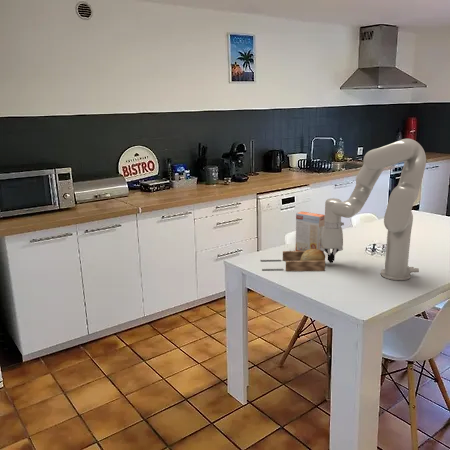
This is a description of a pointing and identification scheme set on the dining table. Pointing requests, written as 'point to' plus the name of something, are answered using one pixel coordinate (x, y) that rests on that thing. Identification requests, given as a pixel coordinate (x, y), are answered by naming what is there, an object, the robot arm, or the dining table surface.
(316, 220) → the cracker box
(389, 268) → the robot arm
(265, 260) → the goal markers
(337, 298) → the dining table surface
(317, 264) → the channel
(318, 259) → the bread roll
